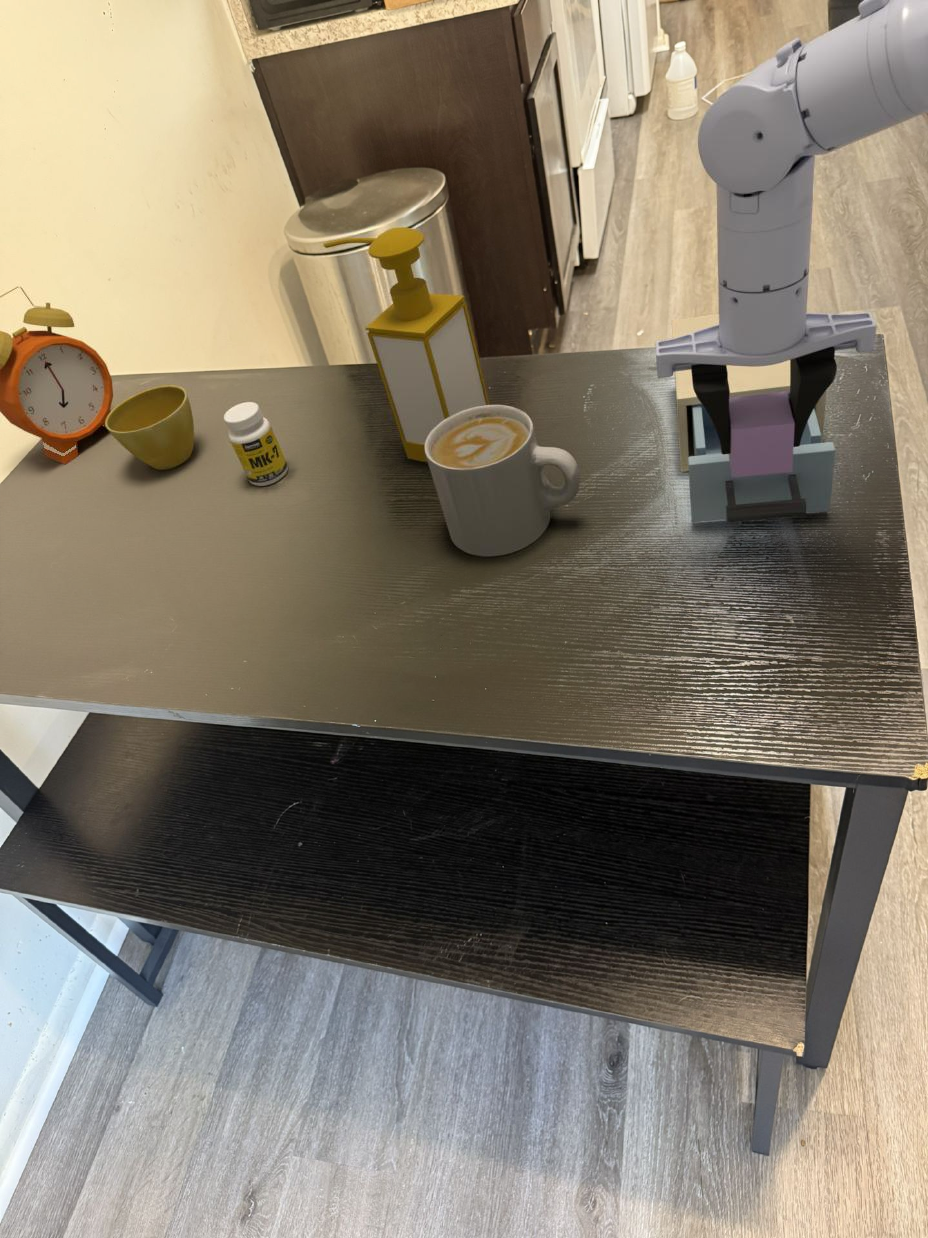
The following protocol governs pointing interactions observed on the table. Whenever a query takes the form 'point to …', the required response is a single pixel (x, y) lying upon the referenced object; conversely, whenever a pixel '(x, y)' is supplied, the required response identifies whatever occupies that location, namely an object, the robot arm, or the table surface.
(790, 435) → the block
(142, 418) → the flower pot
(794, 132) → the robot arm
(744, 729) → the table surface
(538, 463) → the coffee mug
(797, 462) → the drawer
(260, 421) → the supplement bottle
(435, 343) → the soap bottle
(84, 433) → the alarm clock
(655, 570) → the table surface
